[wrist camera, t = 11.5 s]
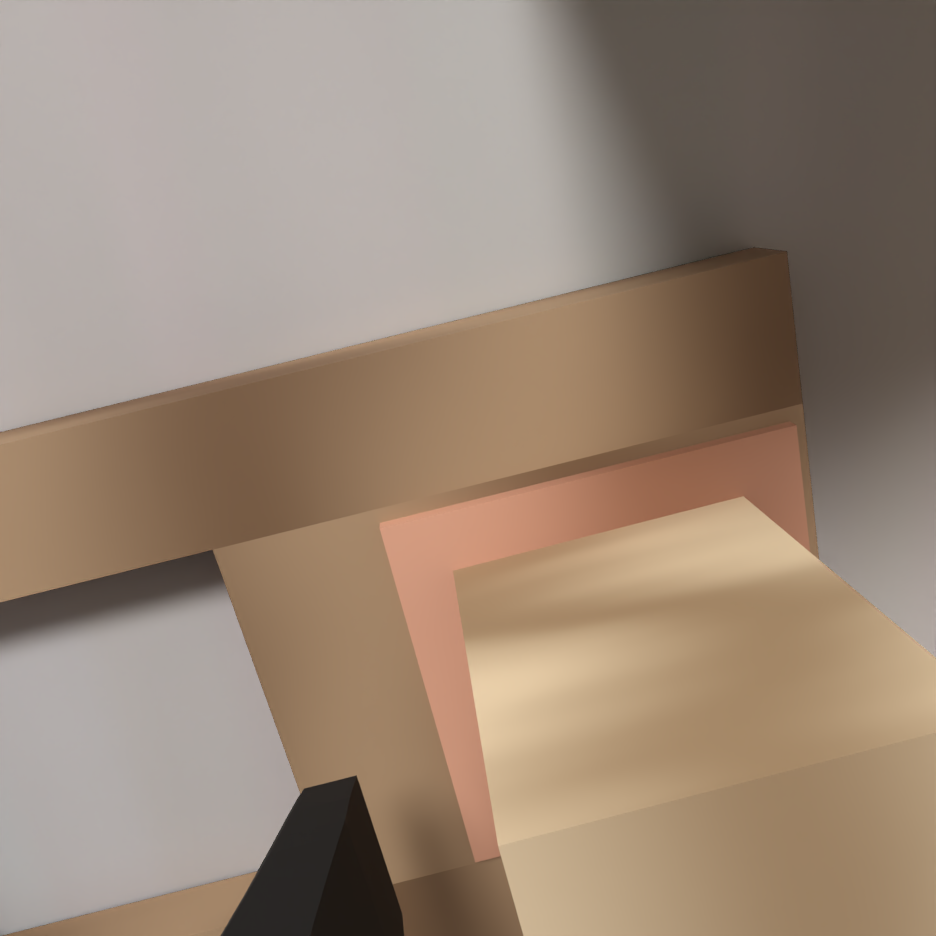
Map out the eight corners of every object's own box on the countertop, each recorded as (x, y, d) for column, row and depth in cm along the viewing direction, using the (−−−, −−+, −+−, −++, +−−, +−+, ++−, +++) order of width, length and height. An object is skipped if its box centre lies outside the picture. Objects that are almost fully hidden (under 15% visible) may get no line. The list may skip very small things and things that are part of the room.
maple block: (517, 808, 12) (595, 1186, 8) (452, 570, 11) (498, 845, 6) (777, 741, 12) (1016, 1076, 8) (743, 496, 11) (1003, 714, 6)
